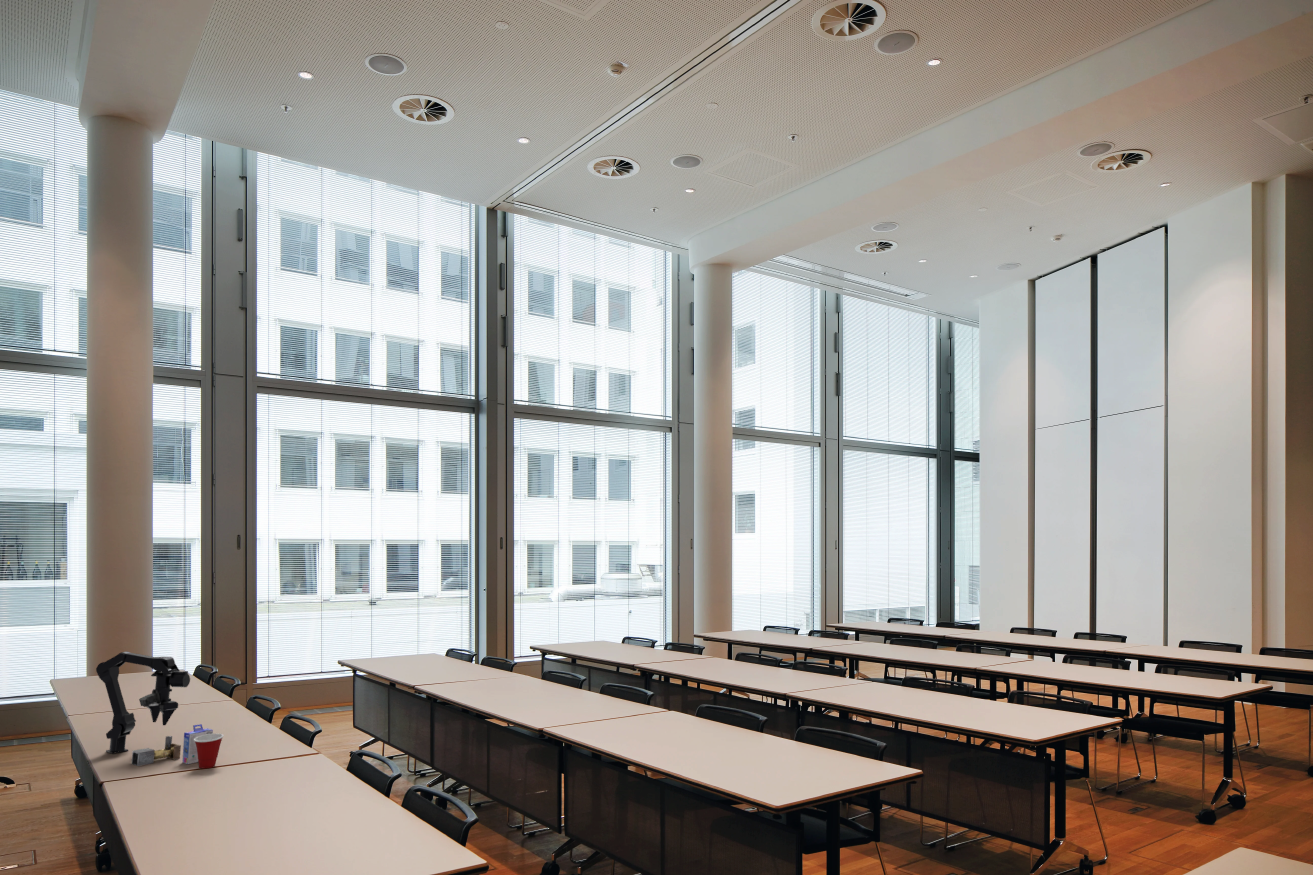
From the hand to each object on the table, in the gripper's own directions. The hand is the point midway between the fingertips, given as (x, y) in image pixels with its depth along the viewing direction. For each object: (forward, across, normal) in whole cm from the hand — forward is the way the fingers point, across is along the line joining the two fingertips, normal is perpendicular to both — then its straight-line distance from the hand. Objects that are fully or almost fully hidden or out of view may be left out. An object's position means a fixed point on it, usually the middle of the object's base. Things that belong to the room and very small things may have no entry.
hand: (159, 723), depth 364 cm
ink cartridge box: (+12, +28, +4) cm, 30 cm away
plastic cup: (+12, +40, +2) cm, 42 cm away
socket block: (+12, +15, 0) cm, 19 cm away
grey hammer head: (+12, +15, -12) cm, 23 cm away
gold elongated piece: (+12, +15, -5) cm, 20 cm away
